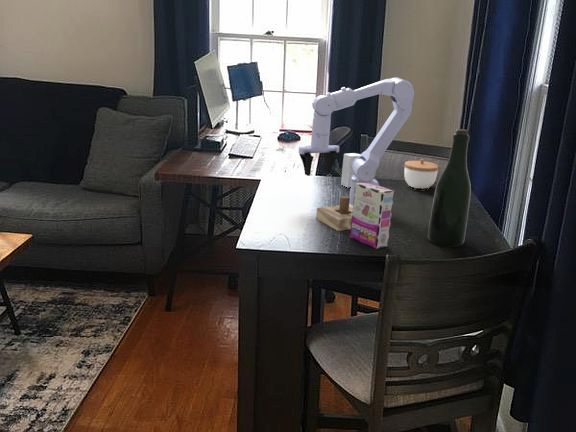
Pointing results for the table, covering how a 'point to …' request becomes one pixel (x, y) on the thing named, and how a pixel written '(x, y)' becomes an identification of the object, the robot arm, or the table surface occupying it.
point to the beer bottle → (452, 197)
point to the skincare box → (348, 169)
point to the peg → (344, 205)
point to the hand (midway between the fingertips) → (317, 174)
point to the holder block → (335, 217)
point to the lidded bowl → (420, 173)
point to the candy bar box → (371, 214)
